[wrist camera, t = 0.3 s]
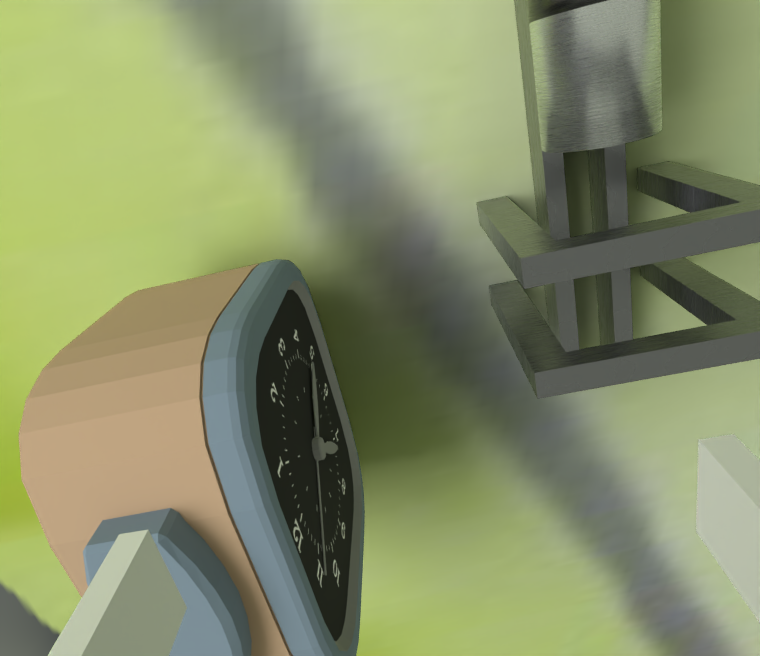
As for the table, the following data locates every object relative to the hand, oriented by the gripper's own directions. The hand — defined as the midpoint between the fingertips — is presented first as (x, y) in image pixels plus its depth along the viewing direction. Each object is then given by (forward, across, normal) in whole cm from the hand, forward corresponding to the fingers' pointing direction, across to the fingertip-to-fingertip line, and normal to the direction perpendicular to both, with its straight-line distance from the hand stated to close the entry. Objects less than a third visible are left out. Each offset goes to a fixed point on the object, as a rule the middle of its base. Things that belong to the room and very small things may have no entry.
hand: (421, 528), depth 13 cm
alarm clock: (+27, -11, -8) cm, 30 cm away
